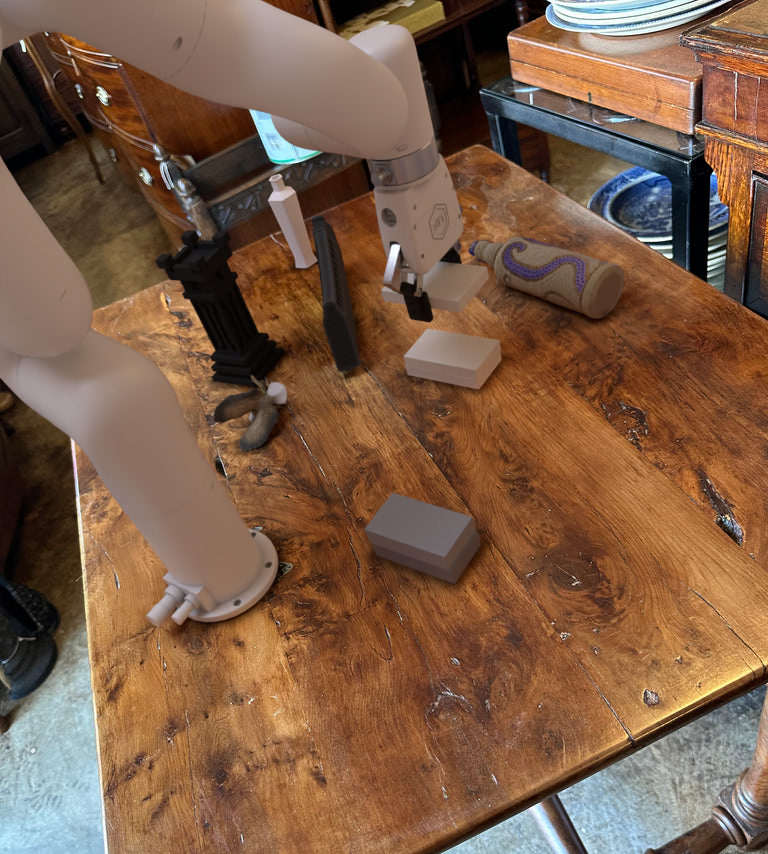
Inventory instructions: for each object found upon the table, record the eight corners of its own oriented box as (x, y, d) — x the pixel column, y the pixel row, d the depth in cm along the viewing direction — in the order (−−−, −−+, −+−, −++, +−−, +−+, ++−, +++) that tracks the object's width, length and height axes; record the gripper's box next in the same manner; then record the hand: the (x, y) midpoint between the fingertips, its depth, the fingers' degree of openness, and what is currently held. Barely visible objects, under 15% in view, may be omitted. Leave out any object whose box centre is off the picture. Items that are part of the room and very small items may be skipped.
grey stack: (455, 584, 80) (446, 557, 77) (375, 555, 86) (363, 529, 83) (481, 544, 83) (474, 517, 80) (402, 518, 88) (392, 492, 85)
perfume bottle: (289, 263, 135) (257, 179, 124) (312, 252, 136) (282, 168, 125) (298, 273, 132) (266, 188, 121) (321, 262, 132) (291, 176, 122)
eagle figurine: (246, 395, 110) (206, 429, 104) (256, 358, 105) (215, 392, 99) (290, 425, 110) (253, 461, 104) (303, 390, 104) (264, 426, 98)
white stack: (480, 390, 100) (476, 370, 97) (407, 375, 106) (401, 356, 103) (503, 359, 102) (499, 339, 100) (431, 346, 108) (426, 327, 106)
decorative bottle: (630, 299, 104) (627, 254, 99) (591, 330, 102) (587, 286, 97) (494, 250, 121) (486, 210, 116) (458, 276, 119) (449, 236, 114)
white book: (460, 312, 91) (458, 301, 90) (384, 301, 97) (380, 290, 96) (489, 278, 94) (487, 266, 93) (413, 269, 100) (410, 258, 99)
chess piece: (213, 381, 117) (150, 262, 103) (243, 347, 121) (186, 228, 107) (255, 387, 113) (196, 264, 99) (284, 352, 117) (231, 229, 103)
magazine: (346, 329, 100) (313, 171, 114) (322, 336, 100) (291, 178, 114) (375, 403, 115) (343, 255, 129) (354, 409, 116) (324, 261, 129)
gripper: (388, 205, 78) (427, 348, 91) (473, 120, 86) (498, 263, 99) (330, 201, 82) (375, 339, 95) (416, 120, 90) (447, 258, 103)
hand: (438, 299), depth 97 cm, fingers closed on white book, 7 cm apart
